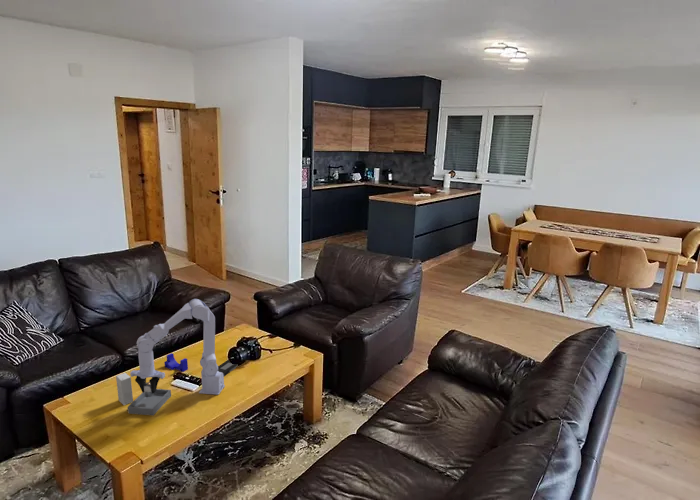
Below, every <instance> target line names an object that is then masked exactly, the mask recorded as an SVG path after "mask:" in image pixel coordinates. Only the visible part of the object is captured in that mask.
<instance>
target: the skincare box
mask: <svg viewBox="0 0 700 500" xmlns="http://www.w3.org/2000/svg"><path fill="white" fill-rule="evenodd" d="M115 378H116V387H117V389H116V390H117V399H118V401H119V402H120V403H121V404H122V405H123V406H126V405H128V404H129V405H130V404H131V403H132V402H133V401H134V397H133V388H132V387H133V385H132V377H131V375H129V374H128V373H126V372H124V373H120V374H117V375H115Z"/></svg>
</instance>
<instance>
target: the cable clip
mask: <svg viewBox="0 0 700 500" xmlns="http://www.w3.org/2000/svg"><path fill="white" fill-rule="evenodd" d="M165 356H166V361H164V362H163V363H164V367H165V368H166V369H169V370H171V371H173V370H176V371H179V372H180V371H181V372H182V373H183V372H186V371H188V370H189V365H188V363H189V362H188V358H185V357H184V358H183V359H180V361H179V362H178V361H177V360H176V358H175V356H174V353H172V352H171V353H169V354H166V355H165Z"/></svg>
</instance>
